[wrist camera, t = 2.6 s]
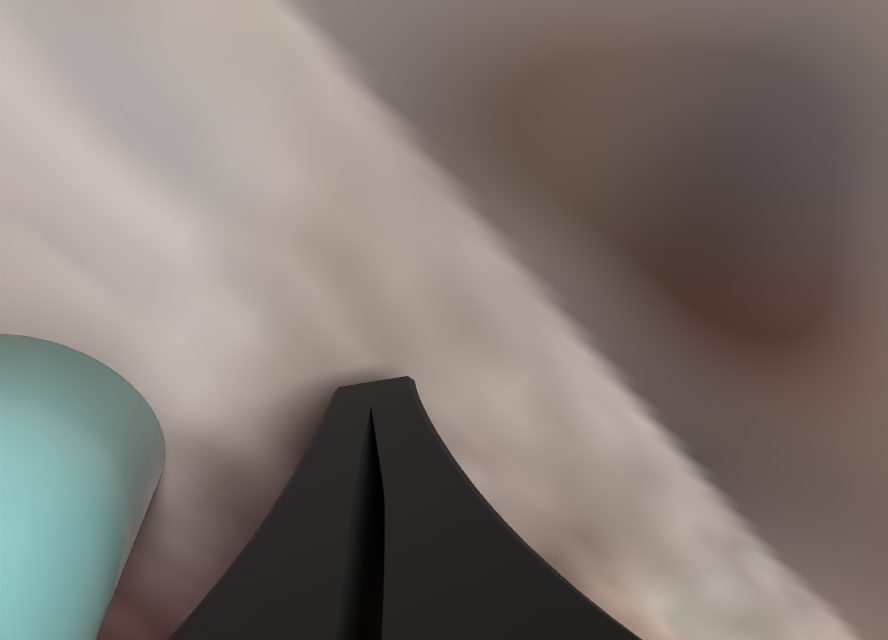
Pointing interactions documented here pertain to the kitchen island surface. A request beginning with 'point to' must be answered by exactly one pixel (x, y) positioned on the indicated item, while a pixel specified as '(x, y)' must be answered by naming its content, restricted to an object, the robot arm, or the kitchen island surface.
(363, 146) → the kitchen island surface
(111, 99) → the kitchen island surface
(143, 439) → the jar
